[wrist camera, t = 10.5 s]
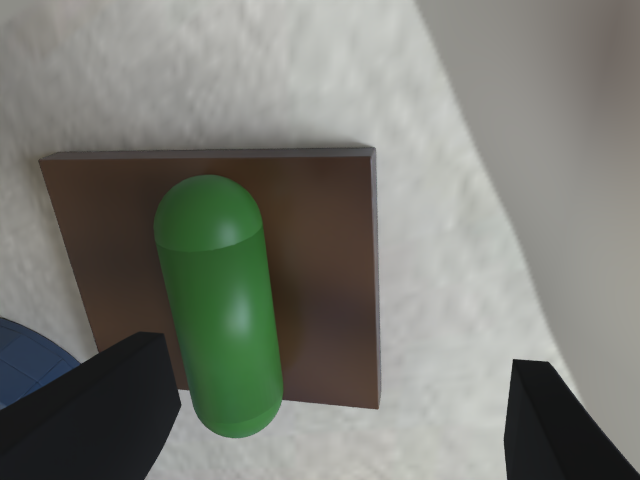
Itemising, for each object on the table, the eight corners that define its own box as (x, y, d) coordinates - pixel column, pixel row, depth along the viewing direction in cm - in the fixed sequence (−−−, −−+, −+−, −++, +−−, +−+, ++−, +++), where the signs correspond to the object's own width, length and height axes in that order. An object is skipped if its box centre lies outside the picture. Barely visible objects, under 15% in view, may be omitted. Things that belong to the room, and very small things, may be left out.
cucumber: (269, 382, 23) (301, 436, 20) (191, 411, 21) (212, 473, 18) (237, 155, 18) (271, 180, 15) (136, 174, 17) (151, 204, 14)
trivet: (381, 390, 22) (378, 410, 21) (121, 366, 25) (107, 382, 24) (375, 147, 17) (371, 156, 16) (58, 151, 20) (37, 159, 19)
